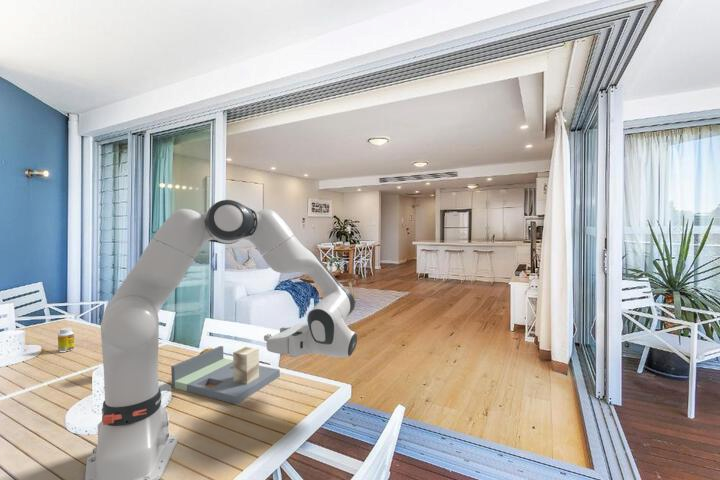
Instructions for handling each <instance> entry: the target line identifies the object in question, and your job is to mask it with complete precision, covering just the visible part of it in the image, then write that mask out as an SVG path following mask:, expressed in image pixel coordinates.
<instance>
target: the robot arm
mask: <svg viewBox="0 0 720 480" xmlns="http://www.w3.org/2000/svg"><path fill="white" fill-rule="evenodd" d="M241 240H247V241H249V242H250V243H251V244H253V245H254V246H255V247H256V249H257V251H258V252H259V254H260V255H261V257H262V258H263V260H264V261H265V263H266V264H267V266H269V268H270V269H272V271H274V272H276V273H280V274H293V273H304V274H306V275H307V276H309V277H310V279H311V280H312V281H313V282H314V283H315V285H316V286H317V287H318V289H319V290H320V291H321V292H322V298H321V299H320V301H319V302H318V303H316V304H315V305H314V307H312V309H311V310H310V311H309V313H308V314H307V318H306V319H307V322H300V323H297V324H296V325H294V326H289V327H288V326H287V327H284V326H282V327H281V328H279V332H278V333H276V334H274V335H272V334H265V335H263V340H264V341H265V342H266V350H267V352H270V353H274V354H278V355H289V358H296V357H300V356H304V355H323V356H325V357H329V358H337V359H344V358H349V357H350V356H351V355H352V354H353V353H354V351H355V350H356V346H357V345H358V344H357V343H358V335H357V333H356V332H355V331H353V330H351V329H350V328H349V327H348V326H347V324H346V323H345V320H346V318H347V317H348V316H349V315H350V314H351V313H352V312H353V311H354V309H355V305H356V302H355V298H354V296H353V294H352V292H351V291H350V290H349V289H348V288H346V287H345V286H344V285H343V284H342V283H341V282H340V281H339V280H338V279H337V278H336V277H335V276H334V274H333V273H332V272H331V271H330V269H328V267H327V266H326V264H324V263H323V261H322V260H321V259H320V258H319V257H318V255H317V254H316V253H315V252H313V251H312V250H311V249H308V248H306V247H305V246H304V245H303V244H302V243H301V242H300V240H298V238H297V236H296V235H295V234H294V233H293V230H292V229H291V228H290V227H289V226H288V224H287V223H286V221H284V219H283V218H282V217H281V216H280V215H279V214H278V213H277V212H276V211H274V210H272V209H261V210H258V211H257V212H256V211H255V210H254V209H251V208H249V207H248V206H246V205H244V204H242V203H240V202H238V201H235V200H233V199H223V200H219V201H217V202H215V203H213V205H211V206H210V208H209V209H208V210H207V212H205V213H201V212H198V211H196V210H193V209H190V208H179V209H176V210H174V212H173V213H172V214H171V215H170V216H169V217H168V218H167V219H166V220H165V221H164V222H163V223H162V225H161V226H159V229H158V230H157V231H156V233H154V235H153V237H152V238H151V240H150V242H149V243H148V244H147V246H146V247H145V249H144V250H143V252H142V254H141V255H140V257H139V258H138V260H137V261H136V263H135V264H134V266H133V267H132V269H131V270H130V272H129V273H128V275H127V276H126V277H125V279H124V280H123V282H122V283H121V284H120V286H119V287H118V288H117V290H116V292H115V293H114V295H113V296H112V298H110V300H109V302H108V303H107V305H106V306H105V308H104V313H103V316H102V319H101V323H100V336H101V339H100V340H101V350H102V351H101V353H102V365H103V379H104V380H103V382H104V385H103V388H104V400H103V403H102V408H101V416H102V417H101V421H99V423H98V424H97V445H96V447H93V449H92V454H91V455H90V456H88V457H87V459H86V466H85V475H84V480H159V479H161V478H162V476H163V474H164V472H165V469H166V467H167V465H168V463H169V461H170V459H171V456H172V454H173V452H174V450H175V447H176V446H177V443H178V441H179V440H178V439H179V438H178V436H177V435H174V434H170V433H171V432H170V421H169V410H167V409H166V408H165V407H163V405H162V398H163V397H162V392H161V391H162V390H161V388H160V386H159V383H160V382H159V381H160V379H159V340H160V339H159V337H160V334H159V333H160V331H159V326H160V325H159V323H160V322H159V319H160V318H159V311H160V310H161V308H162V307H163V305H164V304H165V303H166V301H167V300H168V299H169V297H170V296H171V295H172V293H173V292H174V291H175V290H176V289H177V287H179V285H180V283H181V282H182V280H183V278H184V277H185V275H186V274H187V272H188V271H189V269H190V267H191V265H192V263H193V262H194V261H195V258H196V257H197V255H198V253H199V252H200V250H201V249H202V247H203V246H204V245H205V244H206V243H207V242H213V243H218V244H222V245H232V244H235V243H237V242H239V241H241Z"/></svg>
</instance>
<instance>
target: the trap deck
mask: <svg viewBox="0 0 720 480" xmlns="http://www.w3.org/2000/svg"><path fill="white" fill-rule="evenodd" d="M199 354H200V353H199ZM199 354H198V355H196V356H193V357H190V358H188V359H185V360H183V361H181V362H178V363H175V364H173V365H171V367H170V368H171V388H173V389H176V388H175V381H176V380H178V379H180V378H183V377H185V376H187V375H189V374H191V373H193V372H196V371H198V370H200V369H202V368H204V367H206V366H209V365H211V364H213V363H215V362H217V361H219V360H222V359H225V358H224V346H223V345H219V346H217V347H215V348H212V350H210V351H207V352H205V353H202V354H200V355H199ZM280 372H281V370H280V369H277V368H272V367H267V366H262V365H259V377H258V378H256V379H255V380H253V381H251V382H250V383H248V384H244V383H240V382H236V381H234V372H233V362H231V363H229V364H227V365H225V366H223V367H221V368H219V369H217V370H215V371H213V372H211V373H209V374H207V375H205V376H203V377H201V378H199V379H197V380H195V381H192V382H190V383H188V384H187V391H186V392H187V393H188V392H189V393H191V394H196V395H199V396H201V397H202V396H204V397H207V398H210V399H214V400H218V401H222V402H226V403H229V404H232V405H233V404H234V405H236V406H237V405H238V404H240V403H241V402H243V401H245V400H246V399H247V398H249V397H250V396H252V395H253V394H255V393H256V392H258V391H260V390H261V389H263V388H264V387H266V386H268V384H270V383H272V382H273V381H275V380H276V379H278V378H279V377H280V376H281V373H280Z"/></svg>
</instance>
